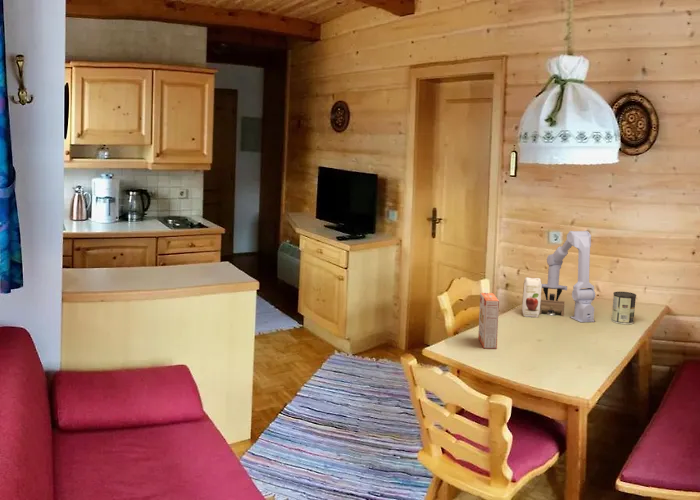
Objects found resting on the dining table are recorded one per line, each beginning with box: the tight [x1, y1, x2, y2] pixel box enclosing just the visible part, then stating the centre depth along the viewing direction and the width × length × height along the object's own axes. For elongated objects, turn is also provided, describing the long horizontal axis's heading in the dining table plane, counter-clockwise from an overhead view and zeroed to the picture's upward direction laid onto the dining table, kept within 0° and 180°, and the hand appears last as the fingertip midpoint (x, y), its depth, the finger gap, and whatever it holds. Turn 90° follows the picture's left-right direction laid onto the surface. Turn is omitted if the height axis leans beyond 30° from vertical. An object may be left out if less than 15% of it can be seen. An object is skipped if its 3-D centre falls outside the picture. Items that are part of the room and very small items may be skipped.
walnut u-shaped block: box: [539, 299, 566, 317], centre depth 336 cm, size 8×12×6 cm
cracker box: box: [477, 292, 500, 350], centre depth 281 cm, size 14×6×21 cm, turn 178°
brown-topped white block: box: [547, 293, 556, 313], centre depth 346 cm, size 15×3×7 cm, turn 163°
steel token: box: [546, 311, 556, 317], centre depth 335 cm, size 4×4×1 cm
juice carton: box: [521, 276, 543, 318], centre depth 330 cm, size 8×9×19 cm
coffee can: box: [610, 291, 637, 325], centre depth 324 cm, size 10×10×14 cm
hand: (551, 302), depth 354 cm, fingers open, 4 cm apart
